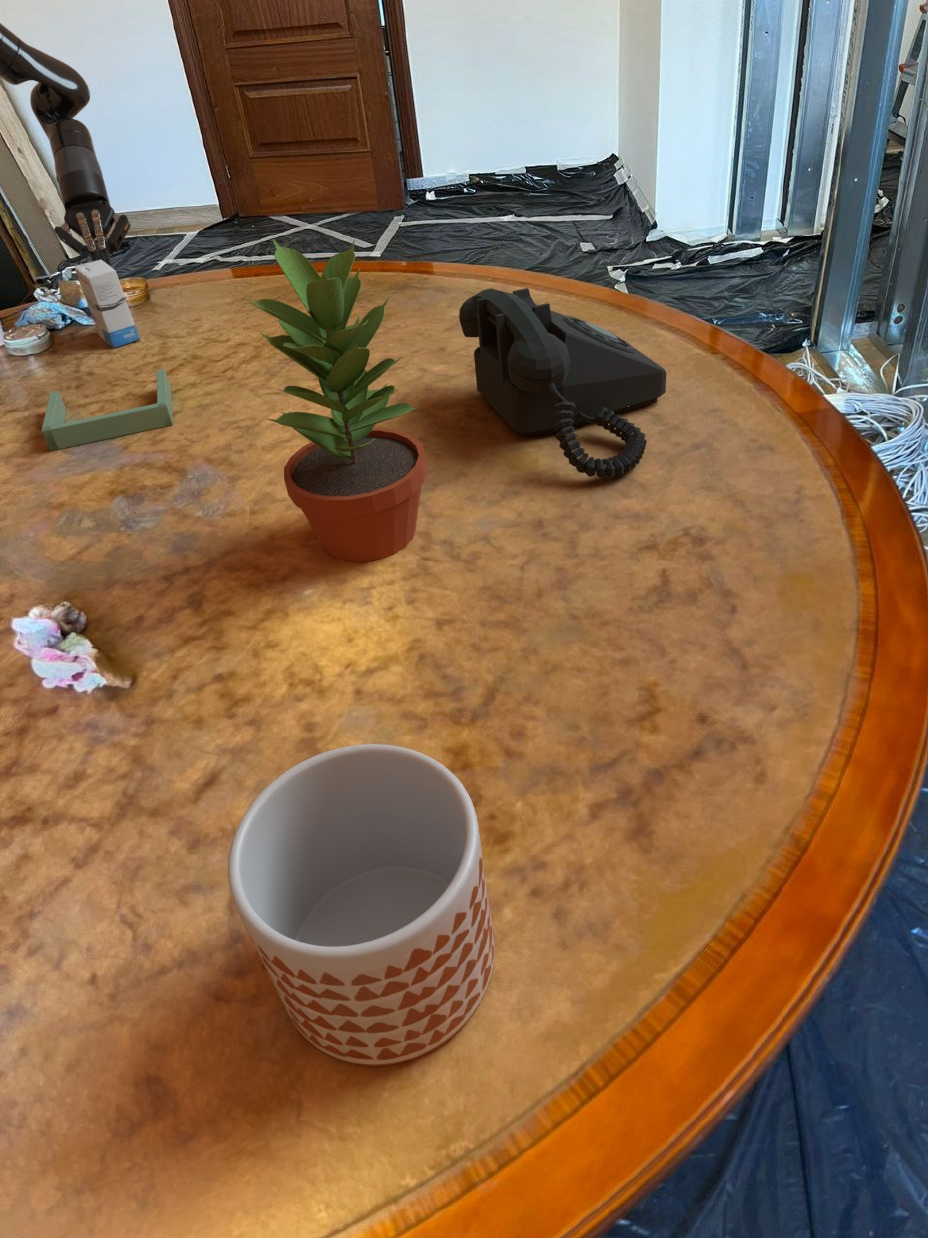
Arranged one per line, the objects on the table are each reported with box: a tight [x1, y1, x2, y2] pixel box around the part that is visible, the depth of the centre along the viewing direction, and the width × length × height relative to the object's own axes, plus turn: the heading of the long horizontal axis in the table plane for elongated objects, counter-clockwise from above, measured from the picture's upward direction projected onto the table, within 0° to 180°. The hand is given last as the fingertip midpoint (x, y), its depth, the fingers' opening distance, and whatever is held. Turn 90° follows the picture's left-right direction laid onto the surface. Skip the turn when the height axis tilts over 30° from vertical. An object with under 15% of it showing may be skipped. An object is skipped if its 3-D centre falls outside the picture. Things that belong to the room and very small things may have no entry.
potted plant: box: [243, 237, 429, 563], centre depth 82 cm, size 15×15×30 cm
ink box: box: [73, 260, 141, 349], centre depth 142 cm, size 8×5×12 cm, turn 34°
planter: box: [227, 743, 496, 1067], centre depth 50 cm, size 14×14×13 cm
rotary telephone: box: [458, 287, 667, 480], centre depth 103 cm, size 33×22×15 cm, turn 20°
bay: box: [40, 368, 174, 452], centre depth 120 cm, size 13×16×3 cm
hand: (104, 274), depth 148 cm, fingers closed
